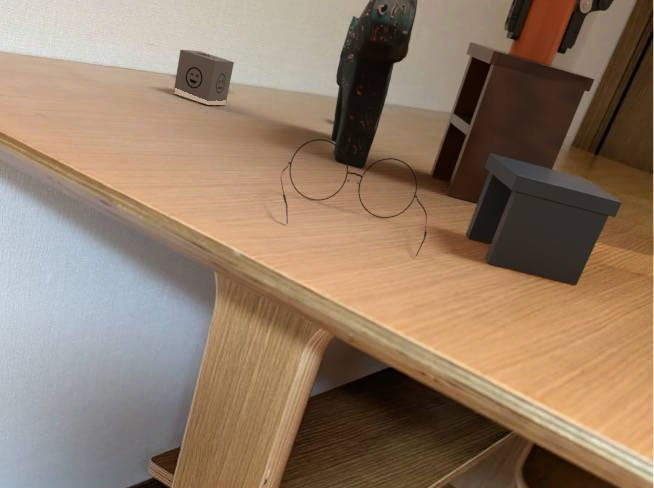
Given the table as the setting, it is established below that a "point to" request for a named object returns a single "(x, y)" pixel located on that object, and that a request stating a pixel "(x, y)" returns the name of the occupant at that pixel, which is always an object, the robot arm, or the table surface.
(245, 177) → the table surface
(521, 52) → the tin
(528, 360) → the table surface
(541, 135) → the tall shelf
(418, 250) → the eyeglasses
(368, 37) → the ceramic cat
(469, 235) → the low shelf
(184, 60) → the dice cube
